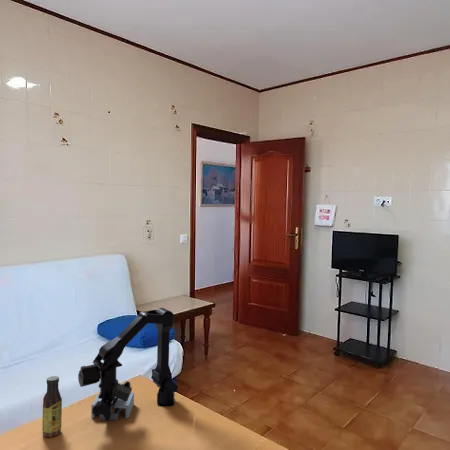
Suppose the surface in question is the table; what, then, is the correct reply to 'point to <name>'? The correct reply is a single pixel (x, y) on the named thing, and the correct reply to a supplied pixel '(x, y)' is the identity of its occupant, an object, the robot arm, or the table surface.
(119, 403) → the grey small bench
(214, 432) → the table surface
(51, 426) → the sauce bottle
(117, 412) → the tray
